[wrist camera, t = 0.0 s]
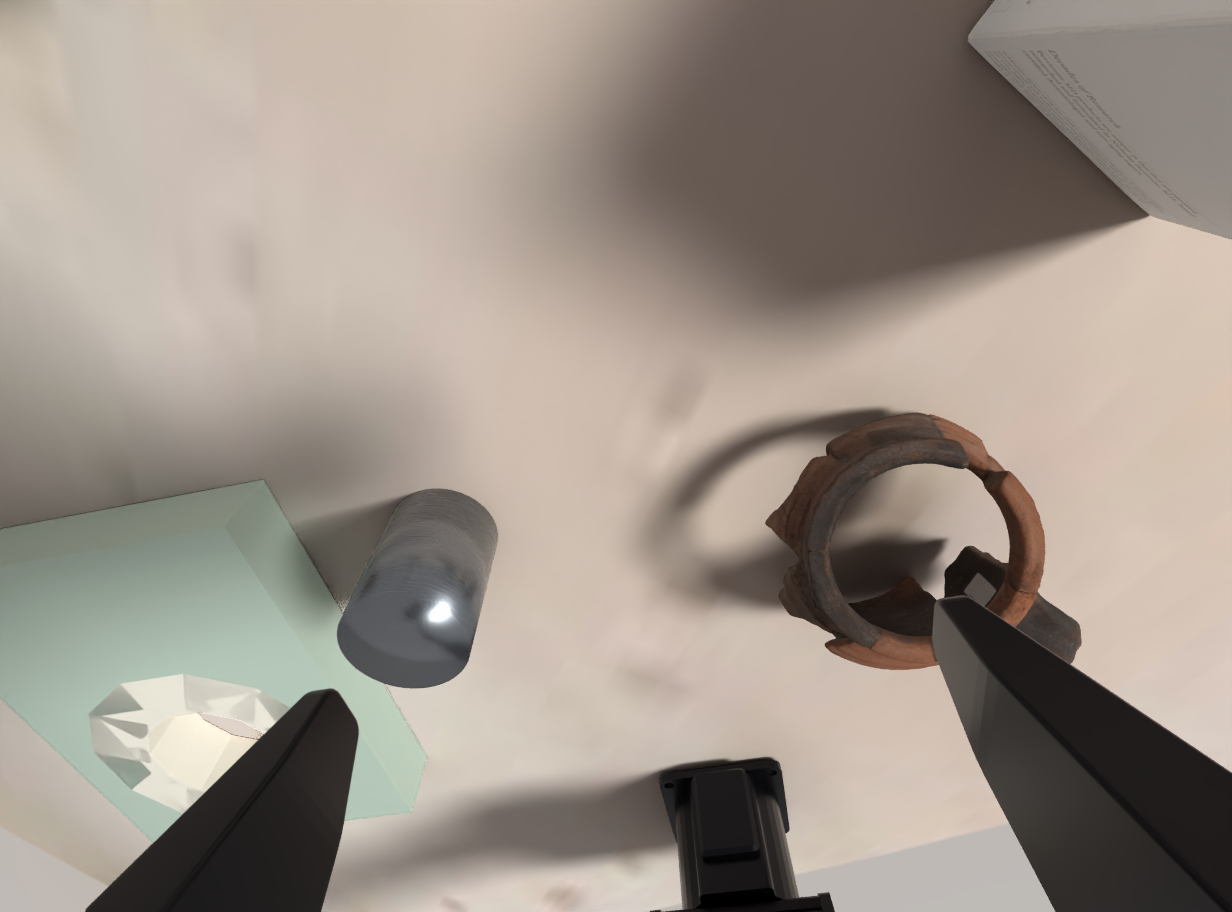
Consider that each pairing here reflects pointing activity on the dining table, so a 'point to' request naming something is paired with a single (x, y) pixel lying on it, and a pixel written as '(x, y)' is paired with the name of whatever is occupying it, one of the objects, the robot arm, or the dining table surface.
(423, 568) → the dark metal cylinder
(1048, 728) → the robot arm
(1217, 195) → the supplement box
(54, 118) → the dining table surface
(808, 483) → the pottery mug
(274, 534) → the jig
